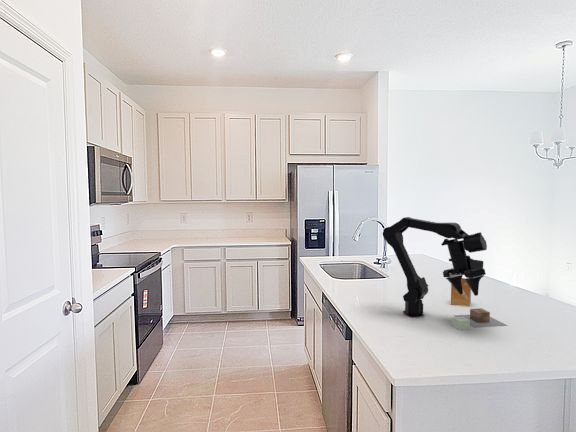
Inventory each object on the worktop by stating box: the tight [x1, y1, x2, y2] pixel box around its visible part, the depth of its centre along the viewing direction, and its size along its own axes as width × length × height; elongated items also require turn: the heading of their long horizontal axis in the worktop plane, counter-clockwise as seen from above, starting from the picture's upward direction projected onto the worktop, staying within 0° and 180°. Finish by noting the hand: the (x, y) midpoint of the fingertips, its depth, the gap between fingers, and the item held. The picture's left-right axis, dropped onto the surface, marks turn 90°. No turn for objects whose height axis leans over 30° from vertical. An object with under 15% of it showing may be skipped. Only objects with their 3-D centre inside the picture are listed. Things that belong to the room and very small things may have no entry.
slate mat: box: [452, 314, 509, 329], centre depth 148 cm, size 14×14×1 cm
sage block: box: [451, 316, 471, 331], centre depth 140 cm, size 4×4×4 cm
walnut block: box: [469, 307, 491, 323], centre depth 148 cm, size 5×5×4 cm
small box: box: [450, 275, 472, 307], centre depth 170 cm, size 8×6×13 cm
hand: (468, 294), depth 141 cm, fingers open, 9 cm apart
